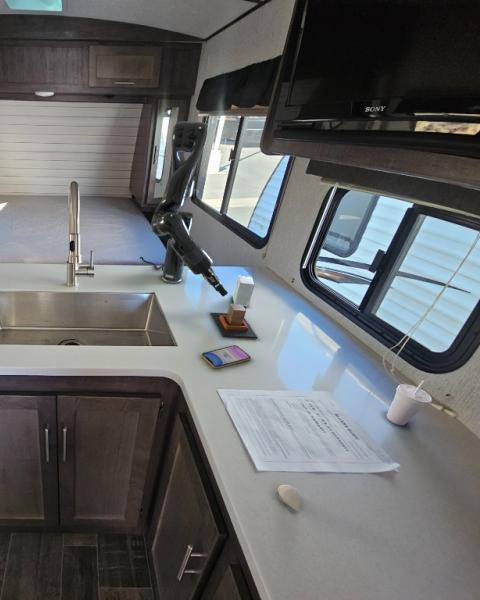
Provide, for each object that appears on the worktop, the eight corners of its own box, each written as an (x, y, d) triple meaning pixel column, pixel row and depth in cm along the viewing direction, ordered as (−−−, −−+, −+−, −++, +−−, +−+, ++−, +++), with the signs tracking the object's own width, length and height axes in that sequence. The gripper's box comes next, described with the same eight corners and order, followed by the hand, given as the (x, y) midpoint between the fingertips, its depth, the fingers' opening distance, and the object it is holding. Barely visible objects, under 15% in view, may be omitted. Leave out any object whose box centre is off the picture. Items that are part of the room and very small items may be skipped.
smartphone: (252, 359, 105) (253, 357, 104) (215, 370, 100) (215, 367, 100) (235, 346, 111) (235, 344, 110) (199, 355, 106) (199, 353, 106)
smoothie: (378, 419, 84) (405, 379, 78) (381, 406, 88) (407, 367, 82) (411, 434, 80) (442, 393, 74) (412, 419, 84) (442, 379, 78)
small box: (248, 307, 135) (255, 284, 130) (233, 304, 137) (240, 282, 132) (246, 298, 142) (252, 277, 137) (232, 296, 144) (238, 275, 138)
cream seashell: (293, 489, 68) (297, 482, 66) (306, 515, 63) (311, 507, 62) (272, 488, 68) (276, 481, 67) (284, 513, 63) (288, 506, 62)
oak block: (225, 320, 124) (229, 304, 120) (236, 321, 124) (241, 304, 120) (228, 327, 120) (233, 310, 117) (240, 327, 120) (246, 310, 116)
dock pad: (210, 314, 130) (211, 309, 129) (240, 315, 129) (242, 311, 128) (223, 337, 116) (224, 332, 115) (257, 339, 115) (258, 334, 114)
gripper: (210, 259, 103) (238, 292, 108) (199, 244, 115) (224, 274, 120) (190, 273, 106) (218, 305, 111) (181, 257, 118) (207, 286, 123)
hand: (221, 289), depth 115 cm, fingers open, 8 cm apart
